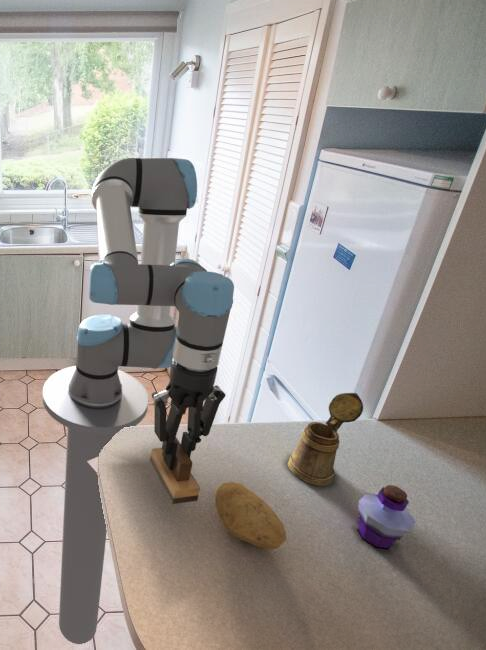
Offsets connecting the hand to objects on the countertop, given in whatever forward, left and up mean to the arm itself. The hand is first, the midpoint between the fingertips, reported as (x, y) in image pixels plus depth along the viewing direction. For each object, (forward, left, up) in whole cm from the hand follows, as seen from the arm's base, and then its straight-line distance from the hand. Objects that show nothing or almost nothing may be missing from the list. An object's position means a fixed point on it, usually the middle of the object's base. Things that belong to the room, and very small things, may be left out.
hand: (175, 463), depth 88 cm
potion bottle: (+13, +36, -12) cm, 40 cm away
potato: (+8, +12, -12) cm, 19 cm away
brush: (0, 0, -5) cm, 5 cm away
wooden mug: (-5, +38, -12) cm, 40 cm away
